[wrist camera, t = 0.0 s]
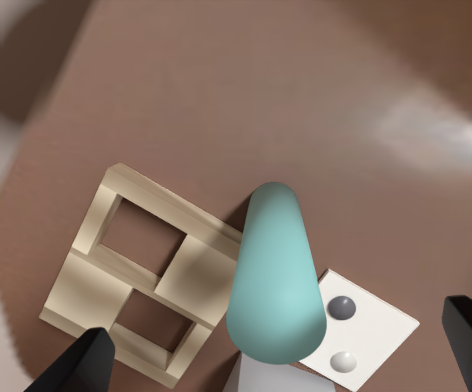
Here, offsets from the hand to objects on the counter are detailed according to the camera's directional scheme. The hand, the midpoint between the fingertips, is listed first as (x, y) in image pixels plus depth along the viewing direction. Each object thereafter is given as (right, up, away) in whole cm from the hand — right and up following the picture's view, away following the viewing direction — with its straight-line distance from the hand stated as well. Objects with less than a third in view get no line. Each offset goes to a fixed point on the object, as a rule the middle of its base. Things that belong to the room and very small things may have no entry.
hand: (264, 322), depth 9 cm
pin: (+2, +3, +15) cm, 16 cm away
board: (-7, -3, +18) cm, 20 cm away
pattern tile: (+7, -7, +18) cm, 21 cm away
